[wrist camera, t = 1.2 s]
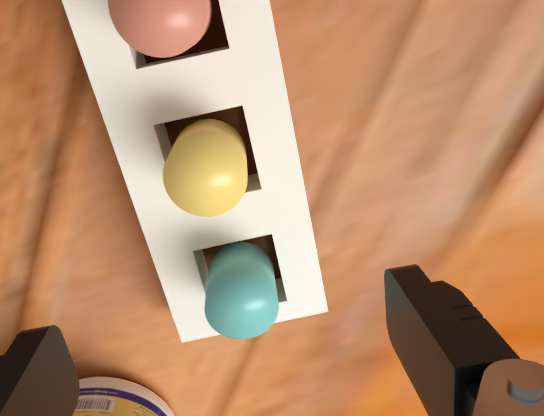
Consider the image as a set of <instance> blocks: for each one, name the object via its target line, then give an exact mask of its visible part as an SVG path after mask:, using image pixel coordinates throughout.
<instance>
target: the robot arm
mask: <svg viewBox="0 0 544 416" xmlns="http://www.w3.org/2000/svg"><path fill="white" fill-rule="evenodd" d="M384 282H385V302H386V321H387V329H388V333H389V337H390V340H391V343H392V346H393V348H394V350H395V352H396V354H397V356H398V357H399V359H400V361H401V363H402V365H403V367H404V369H405V371H406V373H407V375H408V377H409V379H410V381H411V382H412V384H413V386H414V388H415V390H416V392H417V394H418V396H419V398H420V400H421V402H422V404H423V406H424V407H425V409H426V411H427V413H428V415H429V416H544V365H541V364H539V363H536V362H532V361H528V360H523V359H520V357H519V356H518V355H517V354H516V353H515V352H514V351H513V350H512V348H511V347H510V346H509V345H508V344H507V343H506V342H505V340H504V339H503V338H502V337H501V336H500V335H499V334H498V332H497V331H496V330H495V329H494V328H493V327H492V326H491V325H490V323H489V322H488V321H487V320H486V319H485V318H484V319H483V316H482V314H481V313H480V312H479V311H478V310H477V309H476V307H473V304H472V303H471V302H470V301H469V300H468V298H467V297H466V296H465V295H464V294H463V293H462V292H461V291H460V290H459V289H457V288H455V287H453V286H451V285H449V284H448V283H446V282H444V281H436V282H431V281H430V280H429V279H428V277H427V276H426V275H425V274H424V272H423V271H422V270H421V269H420V267H419V266H418V265H416V264H414V265H408V266H403V267H397V268H391V269H386V270H385V274H384ZM79 391H80V386H79V378H78V374H77V372H76V369H75V366H74V364H73V361H72V359H71V356H70V353H69V351H68V348H67V345H66V343H65V340H64V338H63V335H62V333H61V331H60V329H59V328H58V327H57V326H55V325H52V326H47V327H41V328H35V329H29V330H23V331H21V332H20V333H19V334H18V335H17V337H16V338H15V340H14V341H13V343H12V344H11V346H10V347H9V349H8V350H7V352H6V353H5V355H2V356H0V416H73V413H74V410H75V408H76V405H77V402H78V399H79Z"/></svg>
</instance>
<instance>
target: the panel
mask: <svg viewBox="0 0 544 416" xmlns="http://www.w3.org/2000/svg"><path fill="white" fill-rule="evenodd" d="M62 3H63V5H64V8H65V11H66V14H67V17H68V20H69V23H70V25H71V28H72V31H73V34H74V37H75V40H76V42H77V45H78V48H79V51H80V54H81V57H82V60H83V62H84V65H85V68H86V71H87V74H88V77H89V79H90V82H91V85H92V88H93V91H94V94H95V97H96V99H97V102H98V105H99V108H100V111H101V114H102V116H103V119H104V122H105V125H106V128H107V131H108V134H109V136H110V139H111V142H112V145H113V148H114V151H115V153H116V156H117V159H118V162H119V165H120V168H121V171H122V173H123V176H124V179H125V182H126V185H127V188H128V190H129V193H130V196H131V199H132V202H133V205H134V208H135V210H136V213H137V216H138V219H139V222H140V225H141V228H142V230H143V233H144V236H145V239H146V242H147V245H148V247H149V250H150V253H151V256H152V259H153V262H154V265H155V267H156V270H157V273H158V276H159V279H160V282H161V284H162V287H163V290H164V293H165V296H166V299H167V302H168V304H169V307H170V310H171V313H172V316H173V319H174V321H175V324H176V327H177V330H178V333H179V336H180V339H181V341H182V343H183V342H187V341H192V340H197V339H202V338H206V337H211V336H216V335H220V334H219V333H218V332H216V331H215V330H214V329H213V328H212V327H211V326H210V325H209V323H208V321H207V319H206V316H205V311H204V307H205V297H206V288H207V280H208V267H207V264H206V261H205V257H204V254H203V251H202V249H205V248H209V247H214V246H219V245H223V244H228V243H232V242H237V241H242V240H246V239H251V238H256V237H260V236H265V235H270V234H272V237H273V241H274V245H275V250H276V254H277V258H278V263H279V267H280V272H281V276H282V277H281V278H276V279H275V283H276V290H277V296H278V303H279V311H278V315H277V318H276V320H275V322H274V323H277V322H281V321H286V320H291V319H296V318H300V317H305V316H310V315H314V314H319V313H324V312H328V309H327V303H326V298H325V293H324V287H323V282H322V277H321V271H320V266H319V261H318V256H317V250H316V245H315V240H314V234H313V229H312V224H311V218H310V213H309V208H308V203H307V197H306V192H305V187H304V181H303V176H302V171H301V165H300V160H299V155H298V149H297V144H296V139H295V134H294V128H293V123H292V118H291V112H290V107H289V102H288V96H287V91H286V86H285V81H284V75H283V70H282V65H281V59H280V54H279V49H278V43H277V38H276V33H275V27H274V22H273V17H272V12H271V6H270V1H269V0H219V5H220V9H221V13H222V18H223V22H224V26H225V31H226V35H227V40H228V44H229V46H224V47H220V48H215V49H211V50H206V51H202V52H197V53H193V54H188V55H184V56H179V57H175V58H170V59H166V60H161V61H157V62H152V63H148V64H146V61H145V57H144V54H143V53H140V52H139V51H137V50H135V49H134V48H132V47H131V46H130V45H129V44H127V43H126V42H125V41H124V40H123V38H122V37H121V36H120V35H119V33H118V32H117V30H116V28H115V26H114V25H113V22H112V20H111V17H110V13H109V8H108V0H62ZM242 105H243V110H244V114H245V118H246V123H247V127H248V132H249V136H250V140H251V145H252V149H253V153H254V158H255V162H256V167H257V171H258V174H253V175H249V176H248V182H247V188H246V191H245V193H244V195H243V197H242V199H241V200H240V201H239V203H238V204H237V205H236V206H235V207H234V208H232V209H231V210H229V211H228V212H226V213H223V214H221V215H217V216H212V217H201V216H196V215H192V214H189V213H187V212H185V211H183V210H182V209H180V208H179V207H178V206H177V205H175V204H174V202H173V201H172V200H171V199H170V197H169V196H168V194H167V192H166V190H165V187H164V183H163V168H164V164H165V161H166V159H167V157H168V155H169V153H170V151H171V149H172V147H171V144H170V141H169V137H168V134H167V131H166V127H165V124H164V123H165V122H169V121H174V120H178V119H183V118H188V117H192V116H197V115H201V114H206V113H210V112H215V111H219V110H224V109H228V108H233V107H238V106H242Z"/></svg>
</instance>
